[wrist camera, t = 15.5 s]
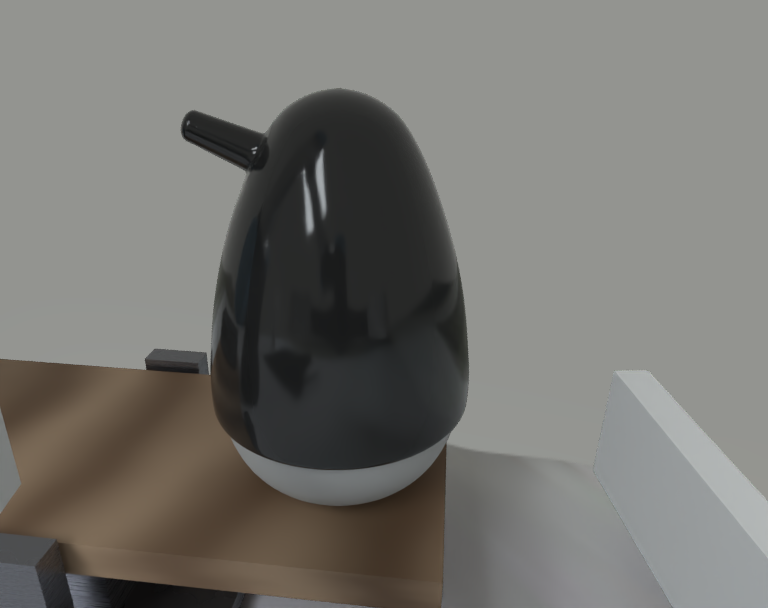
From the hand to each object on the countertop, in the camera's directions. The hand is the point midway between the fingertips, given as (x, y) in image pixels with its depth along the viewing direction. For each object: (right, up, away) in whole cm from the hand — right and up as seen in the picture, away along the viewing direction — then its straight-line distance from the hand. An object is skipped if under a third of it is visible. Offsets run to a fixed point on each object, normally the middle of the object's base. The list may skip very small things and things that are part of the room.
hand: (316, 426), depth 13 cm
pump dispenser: (0, -4, +13) cm, 14 cm away
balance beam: (-11, -5, +15) cm, 19 cm away
